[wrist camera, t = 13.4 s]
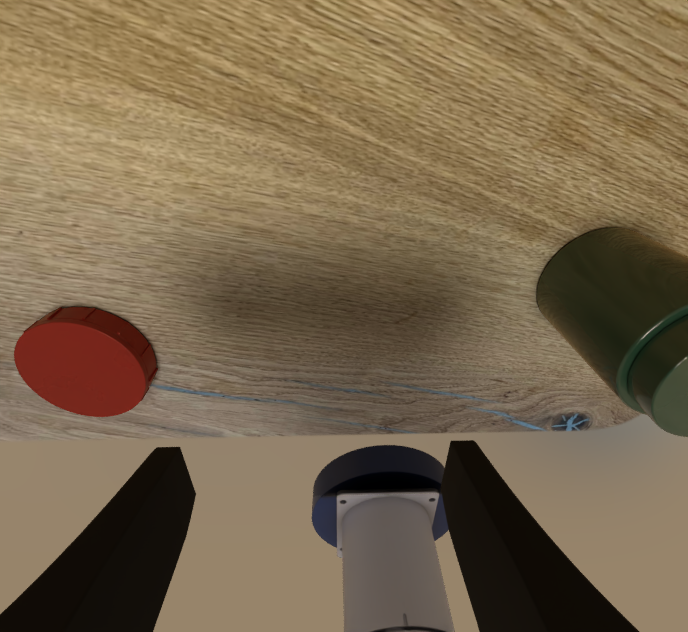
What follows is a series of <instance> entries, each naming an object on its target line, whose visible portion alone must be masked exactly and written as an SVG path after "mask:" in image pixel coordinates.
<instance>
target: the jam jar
mask: <svg viewBox="0 0 688 632" xmlns="http://www.w3.org/2000/svg"><path fill="white" fill-rule="evenodd" d="M537 302H538V306H539V309H540V311H541V313H542V314H543V315H544V317H545V318H546V319H547V320H548V321H549V322H550V323H551V324H552V326H553V327H554V328H555V329H556V330H557V331H558V332H559V333H560V334H561V335H562V336H563V338H564V339H565V340H566V341H567V342H568V343H569V344H570V345H571V346H572V347H573V348H574V350H575V351H576V352H577V353H578V354H579V355H580V356H581V357H582V358H583V359H584V360H585V362H586V363H587V364H588V365H589V366H590V367H591V368H592V369H593V370H594V371H595V372H596V374H597V375H598V376H599V377H600V378H601V379H602V380H603V381H604V382H605V383H606V384H607V386H608V387H609V388H610V389H611V390H612V391H613V392H614V393H615V394H616V395H617V396H618V398H619V399H620V400H621V401H622V402H623V403H624V404H625V405H626V406H628V407H629V408H631V409H633V410H635V411H637V412H639V413H642V414H646V415H648V416H649V417H650V418H651V419H652V420H653V421H654V422H655V423H656V424H657V425H658V426H659V427H660V428H661V429H663V430H664V431H666V432H669V433H671V434H674V435H678V436H683V437H688V257H687V256H685V255H683V254H681V253H679V252H677V251H675V250H673V249H671V248H669V247H667V246H664V245H662V244H660V243H658V242H656V241H654V240H652V239H650V238H648V237H646V236H644V235H642V234H640V233H638V232H635V231H633V230H630V229H625V228H605V229H600V230H596V231H593V232H590V233H587V234H585V235H582V236H580V237H579V238H577V239H575V240H573V241H572V242H570V243H569V244H567V245H566V246H565V247H564V248H562V249H561V250H560V251H559V252H558V253H557V254H556V255H555V256H554V257H553V258H552V259H551V261H550V262H549V263H548V265H547V266H546V268H545V269H544V271H543V273H542V275H541V278H540V280H539V283H538V288H537Z"/></svg>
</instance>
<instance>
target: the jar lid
mask: <svg viewBox="0 0 688 632" xmlns="http://www.w3.org/2000/svg"><path fill="white" fill-rule="evenodd" d="M23 333H24V334H23V335H22V336H21V337H20V338H19V340H18V341H17V343H16V346H15V351H14V358H15V364H16V367H17V369H18V371H19V374H20V375H21V377H22V378H23V380H24V381H25V382H26V383H27V385H28V386H29V387H30V388H31V389H32V390H33V391H34V392H36V393H37V394H38V395H39V396H41V397H42V398H43V399H45V400H46V401H48V402H50V403H52V404H53V405H55V406H57V407H59V408H62V409H64V410H67V411H70V412H73V413H76V414H81V415H86V416H94V417H108V416H115V415H119V414H122V413H125V412H127V411H129V410H131V409H132V408H134V407H135V406H136V405H137V404H138V403H139V402H140V401H142V399H143V398H144V396H145V394H146V393H147V391H148V389H149V386H150V385H151V383H152V381H153V379H154V377H155V374H156V372H157V370H158V368H156V359H155V355H154V352H153V350H152V348H151V344H149V343H148V342H147V340H146V339H145V337H144V336H143V335H142V334H141V333H140V332H139V331H138V330H137V329H136V328H134V327H133V326H132V325H130V324H129V322H126V321H124V320H123V319H121V318H119V317H117V316H114V315H112V314H110V313H107V312H105V311H102V310H97V309H95V308H88V307H87V308H86V307H68V308H63V309H62V307H60V308H58V309H57V310H56V311H53V312H51V313H49V314H47V315H46V316H45V317H43V318H42V319H41V320H39V321H36V322H35V323H34V324H33V325H31V326H30V327H29V328H28V329H26V330H25V331H24V332H23Z"/></svg>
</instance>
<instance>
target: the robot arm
mask: <svg viewBox="0 0 688 632" xmlns="http://www.w3.org/2000/svg"><path fill="white" fill-rule="evenodd" d="M441 493H442V498H443V504H444V509H445V514H446V519H447V524H448V529H449V532H450V535H451V539H452V542H453V545H454V549H455V552H456V555H457V558H458V562H459V565H460V568H461V572H462V575H463V578H464V582H465V585H466V588H467V591H468V595H469V598H470V601H471V604H472V608H473V611H474V614H475V617H476V620H477V624H478V628H479V631H480V632H639V631H638V630H637V629H636V628H635V627H634V626H633V625H632V624H631V623H630V622H629V621H628V620H627V619H626V618H625V617H624V616H623V615H622V614H621V613H620V612H619V611H618V610H617V609H616V608H615V607H614V606H613V605H612V604H611V603H610V602H609V601H608V600H607V599H606V598H605V597H604V596H603V595H602V594H601V593H600V592H599V591H598V590H597V589H596V588H595V587H594V586H593V585H592V584H591V583H590V581H589V580H588V579H587V578H586V577H585V576H584V575H583V574H582V573H581V572H580V571H579V570H578V569H577V567H576V566H575V565H574V564H573V563H572V562H571V561H570V560H569V559H568V558H567V556H566V555H565V554H564V553H563V552H562V551H561V550H560V549H559V547H558V546H557V545H556V544H555V543H554V542H553V540H552V539H551V538H550V537H549V536H548V535H547V534H546V532H545V531H544V530H543V529H542V528H541V526H540V525H539V524H538V523H537V521H536V520H535V519H534V518H533V517H532V516H531V514H530V513H529V512H528V510H527V509H526V508H525V507H524V506H523V504H522V503H521V502H520V501H519V499H518V498H517V497H516V496H515V494H514V493H513V492H512V490H511V489H510V488H509V487H508V485H507V484H506V483H505V481H504V480H503V479H502V477H501V476H500V475H499V473H498V472H497V471H496V469H495V468H494V467H493V465H492V464H491V463H490V461H489V460H488V459H487V457H486V456H485V454H484V453H483V452H482V450H481V449H480V447H479V446H478V445H477V443H476V442H475V441H473V440H471V441H451V443H450V447H449V452H448V456H447V461H446V465H445V470H444V475H443V479H442V484H441ZM195 496H196V493H195V490H194V487H193V484H192V481H191V478H190V475H189V472H188V469H187V466H186V463H185V461H184V458H183V455H182V452H181V449H180V447H158V448H156V449H155V450H154V451H153V452H152V453H151V454H150V455H149V456H148V457H147V459H146V460H145V461H144V462H143V463H142V465H141V466H140V467H139V468H138V469H137V470H136V471H135V473H134V474H133V475H132V476H131V477H130V478H129V480H128V481H127V482H126V483H125V484H124V485H123V487H122V488H121V489H120V490H119V491H118V492H117V494H116V495H115V496H114V497H113V498H112V499H111V500H110V502H109V503H108V504H107V505H106V506H105V507H104V508H103V509H102V511H101V512H100V513H99V514H98V515H97V516H96V517H95V518H94V519H93V520H92V522H91V523H90V524H89V525H88V526H87V527H86V528H85V529H84V530H83V532H82V533H81V534H80V535H79V536H78V537H77V538H76V539H75V540H74V541H73V542H72V543H71V544H70V545H69V546H68V547H67V548H66V549H65V551H64V552H63V553H62V554H61V555H60V556H59V557H58V558H57V559H56V560H55V561H54V562H53V563H52V564H51V565H50V566H49V567H48V568H47V569H46V570H45V571H44V572H43V573H42V574H41V575H40V576H39V577H38V579H36V580H35V581H34V582H33V583H32V584H31V585H30V586H29V587H28V588H27V589H26V590H25V591H24V592H23V593H22V594H21V595H20V596H19V597H18V598H17V599H16V600H15V601H14V602H13V603H12V604H11V605H10V606H9V607H8V608H7V609H5V610H4V611H3V612H2V613H1V614H0V632H153V630H154V627H155V624H156V621H157V618H158V616H159V613H160V610H161V607H162V604H163V601H164V598H165V595H166V593H167V590H168V587H169V584H170V581H171V579H172V576H173V573H174V570H175V567H176V564H177V561H178V559H179V556H180V553H181V550H182V547H183V543H184V541H185V538H186V535H187V531H188V526H189V523H190V519H191V514H192V510H193V505H194V501H195ZM438 498H439V492H438V490H437V489H435V488H408V489H362V490H340V491H338V492H337V556H338V557H340V558H343V599H344V632H455V631H454V626H453V622H452V617H451V613H450V609H449V604H448V600H447V595H446V591H445V586H444V582H443V578H442V573H441V569H440V564H439V559H438V555H437V551H436V546H435V542H434V537H433V533H432V524H433V520H434V516H435V511H436V507H437V503H438Z"/></svg>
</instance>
